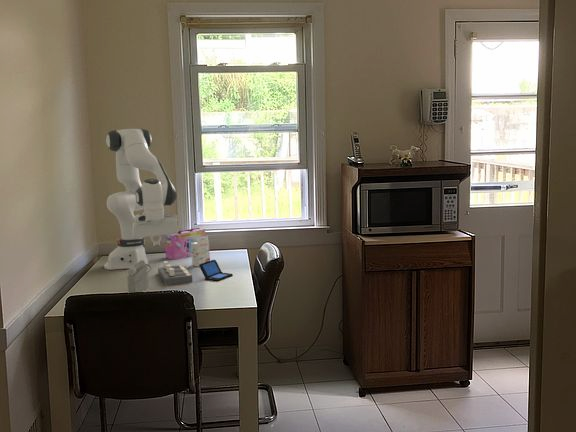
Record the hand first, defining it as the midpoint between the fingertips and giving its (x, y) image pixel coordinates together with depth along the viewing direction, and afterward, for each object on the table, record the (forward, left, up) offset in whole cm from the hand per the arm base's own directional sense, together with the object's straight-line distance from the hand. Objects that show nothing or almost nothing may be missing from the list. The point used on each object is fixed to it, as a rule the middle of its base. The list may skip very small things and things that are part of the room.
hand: (156, 245), depth 269 cm
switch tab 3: (+6, 0, -15) cm, 16 cm away
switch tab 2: (+6, +8, -15) cm, 18 cm away
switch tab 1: (+6, +16, -15) cm, 23 cm away
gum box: (+23, +56, -18) cm, 64 cm away
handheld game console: (+26, -1, -18) cm, 32 cm away
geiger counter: (-11, -18, -18) cm, 28 cm away
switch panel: (+8, +8, -18) cm, 21 cm away
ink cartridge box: (+26, +30, -18) cm, 44 cm away
